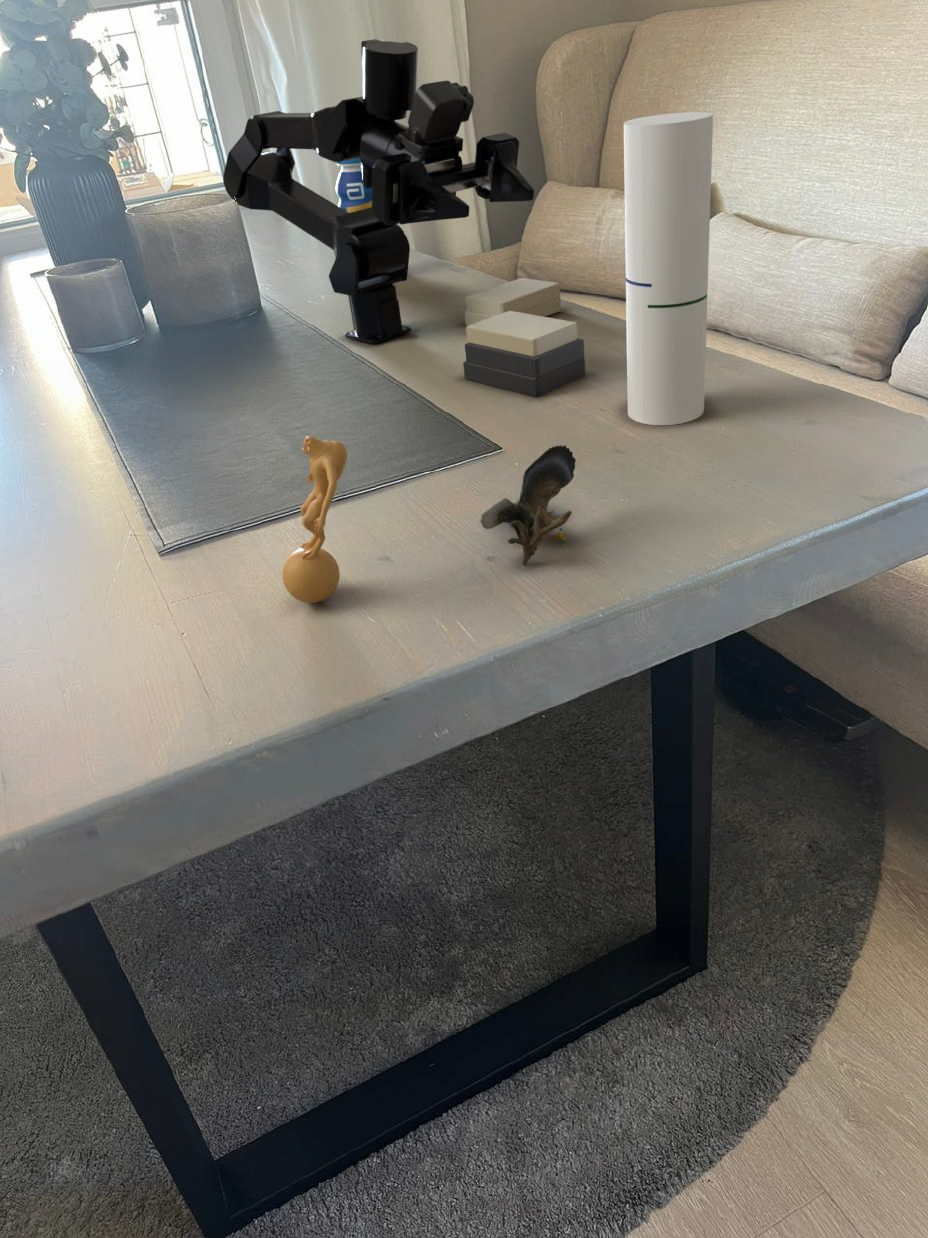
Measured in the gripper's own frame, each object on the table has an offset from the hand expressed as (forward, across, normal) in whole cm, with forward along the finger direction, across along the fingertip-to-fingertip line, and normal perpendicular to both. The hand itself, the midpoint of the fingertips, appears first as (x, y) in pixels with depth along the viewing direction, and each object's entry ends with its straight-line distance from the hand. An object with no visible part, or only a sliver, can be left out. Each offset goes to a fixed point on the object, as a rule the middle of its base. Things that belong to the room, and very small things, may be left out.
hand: (501, 203), depth 96 cm
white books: (-10, +14, +20) cm, 27 cm away
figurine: (+29, -42, +11) cm, 52 cm away
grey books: (+8, -2, +16) cm, 18 cm away
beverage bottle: (-47, +21, +31) cm, 60 cm away
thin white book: (+7, -2, +12) cm, 14 cm away
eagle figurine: (+34, -27, +9) cm, 45 cm away
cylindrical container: (+26, -1, +11) cm, 28 cm away
